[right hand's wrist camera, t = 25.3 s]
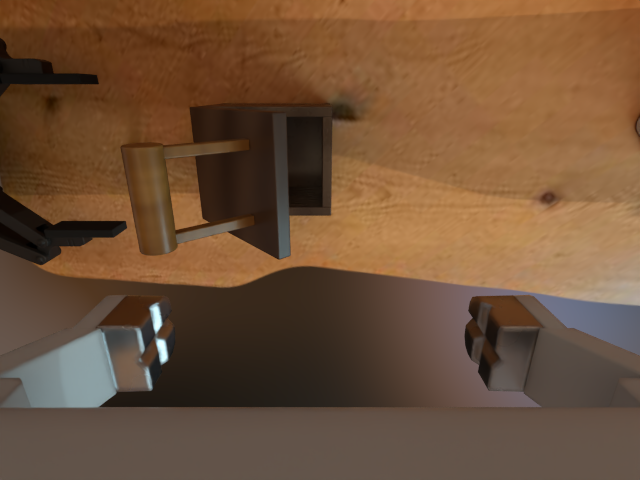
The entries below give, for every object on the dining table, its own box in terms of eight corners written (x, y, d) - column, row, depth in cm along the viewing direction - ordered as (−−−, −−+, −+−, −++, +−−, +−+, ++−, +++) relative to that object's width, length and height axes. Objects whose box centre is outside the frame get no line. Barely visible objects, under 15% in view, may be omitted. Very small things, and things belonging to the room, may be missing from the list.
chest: (329, 103, 40) (332, 106, 31) (328, 192, 43) (331, 215, 35) (223, 103, 40) (197, 106, 31) (230, 192, 43) (209, 215, 35)
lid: (286, 111, 23) (133, 117, 17) (291, 256, 26) (164, 297, 21) (201, 106, 31) (80, 109, 26) (213, 216, 34) (108, 238, 29)
